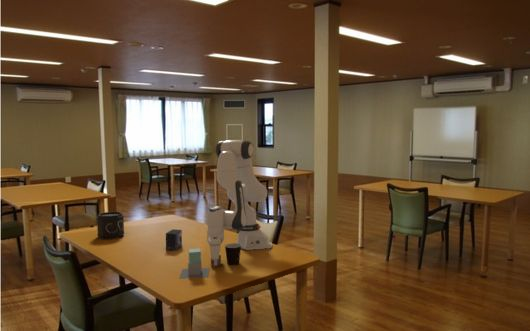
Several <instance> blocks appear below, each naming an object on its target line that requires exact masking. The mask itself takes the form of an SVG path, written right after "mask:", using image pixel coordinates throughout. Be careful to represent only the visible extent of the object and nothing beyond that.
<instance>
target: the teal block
mask: <svg viewBox="0 0 530 331" xmlns="http://www.w3.org/2000/svg"><path fill="white" fill-rule="evenodd" d="M201 254H202V251H201V248H189V249H188V262H189V263H201V264H202V255H201Z"/></svg>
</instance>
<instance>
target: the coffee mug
mask: <svg viewBox="0 0 530 331" xmlns="http://www.w3.org/2000/svg"><path fill="white" fill-rule="evenodd" d="M224 247H225V256H226V264H227V265H230V266H239V265H240V257H241V250H242V248H241V245H240V244H237V242H235V243H233V242H232V243H231V242H230V243H226V244H225V245H224Z"/></svg>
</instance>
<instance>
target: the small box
mask: <svg viewBox="0 0 530 331" xmlns="http://www.w3.org/2000/svg"><path fill="white" fill-rule="evenodd" d="M182 230H183V229H171V230H169V231H167V232H166V233H165V251H176V250H178V249H180V248H181V247H182V246H183V243H182V242H183V240H182V239H183V237H182V236H183V235H182V234H183V231H182Z"/></svg>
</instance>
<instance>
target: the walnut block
mask: <svg viewBox="0 0 530 331" xmlns="http://www.w3.org/2000/svg"><path fill="white" fill-rule="evenodd" d="M221 263H222V255H221V254H219V259H218V261H217V265H214V260H212V259H211V258H210V267H211V268H217V267H218V268H221V267H222V266H221V265H222V264H221Z"/></svg>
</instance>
